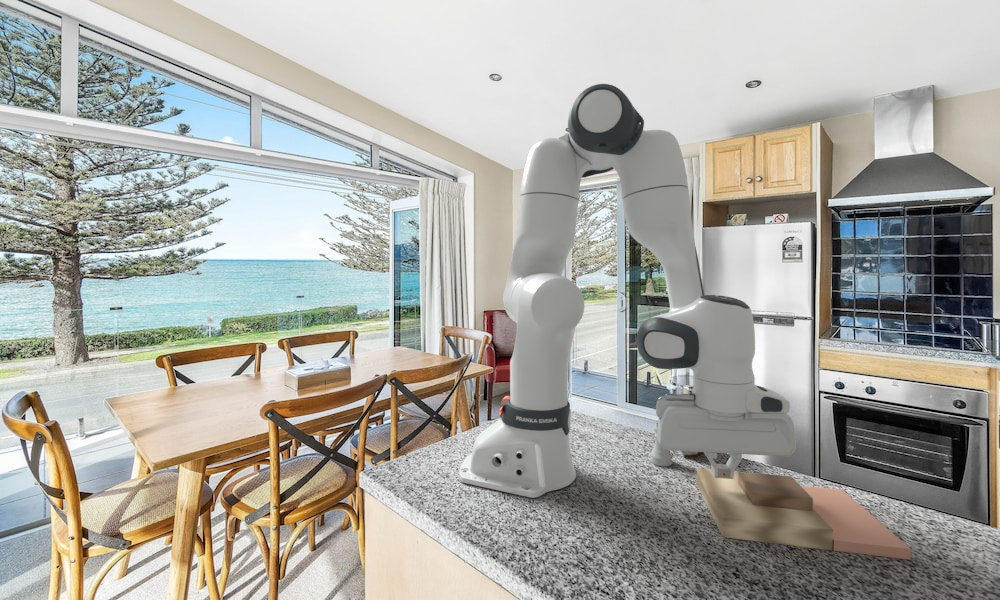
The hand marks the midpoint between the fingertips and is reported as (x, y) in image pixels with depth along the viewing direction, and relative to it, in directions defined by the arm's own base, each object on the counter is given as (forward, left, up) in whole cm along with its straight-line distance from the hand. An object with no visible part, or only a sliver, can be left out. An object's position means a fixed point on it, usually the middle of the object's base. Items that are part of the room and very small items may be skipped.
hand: (722, 477), depth 69 cm
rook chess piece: (-7, +15, -5) cm, 18 cm away
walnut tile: (+7, -1, -2) cm, 8 cm away
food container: (+1, +23, -5) cm, 24 cm away
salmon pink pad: (+16, -1, -5) cm, 17 cm away
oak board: (+5, -1, -5) cm, 7 cm away
